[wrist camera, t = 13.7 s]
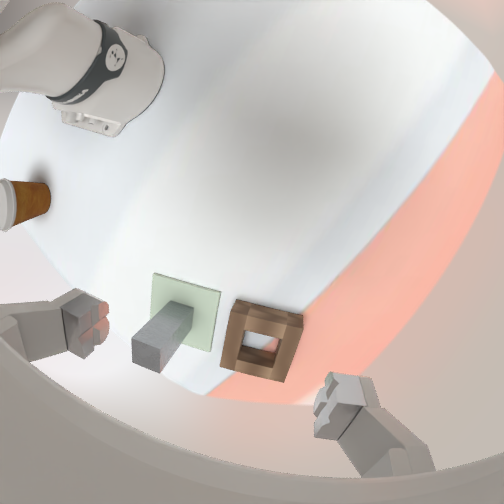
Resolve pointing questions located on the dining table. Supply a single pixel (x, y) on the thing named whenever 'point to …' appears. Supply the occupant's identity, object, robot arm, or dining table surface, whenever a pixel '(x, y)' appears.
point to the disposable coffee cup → (22, 202)
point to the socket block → (264, 323)
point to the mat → (192, 296)
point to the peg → (162, 336)
